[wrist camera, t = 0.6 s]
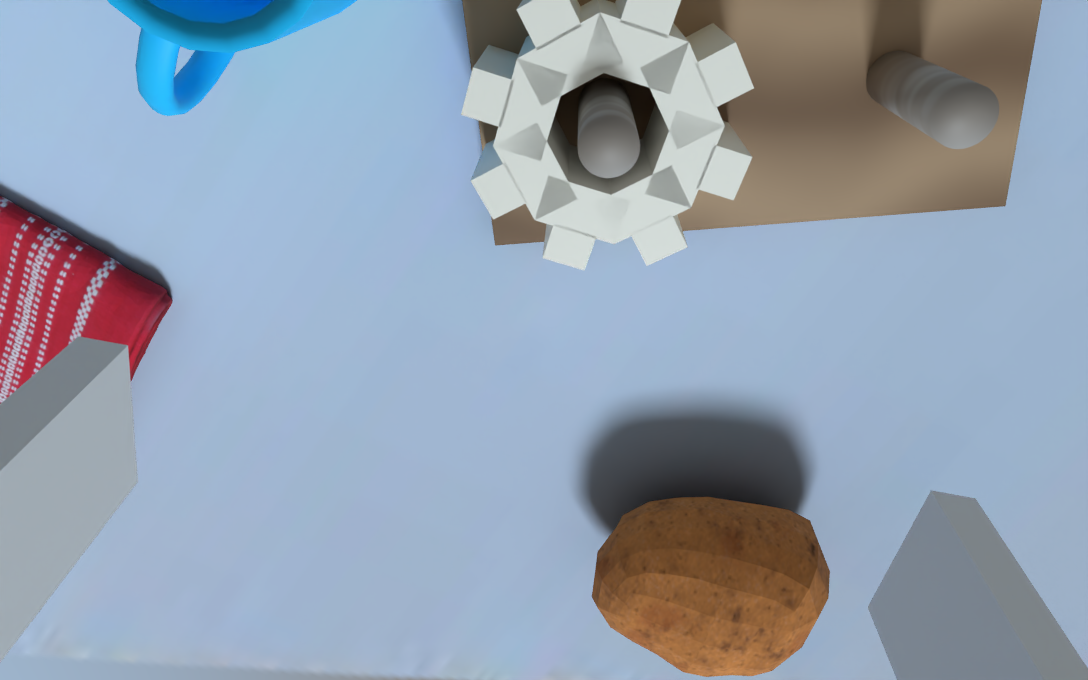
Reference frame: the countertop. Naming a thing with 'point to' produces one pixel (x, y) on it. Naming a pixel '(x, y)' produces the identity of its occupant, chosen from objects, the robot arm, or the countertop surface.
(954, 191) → the walnut board
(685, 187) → the cream gear
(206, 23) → the mug
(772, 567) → the potato
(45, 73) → the countertop surface
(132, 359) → the dish towel
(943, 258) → the countertop surface
